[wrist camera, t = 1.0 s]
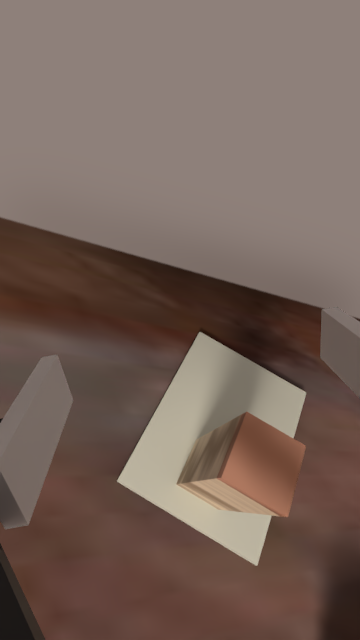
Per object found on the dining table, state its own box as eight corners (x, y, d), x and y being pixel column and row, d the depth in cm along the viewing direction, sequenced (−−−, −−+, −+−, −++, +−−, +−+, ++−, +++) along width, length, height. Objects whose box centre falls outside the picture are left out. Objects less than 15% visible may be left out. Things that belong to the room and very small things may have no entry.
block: (218, 509, 33) (287, 517, 21) (175, 484, 33) (221, 477, 21) (235, 462, 36) (306, 446, 24) (196, 439, 36) (246, 411, 24)
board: (252, 563, 32) (257, 565, 31) (116, 481, 33) (117, 481, 32) (302, 394, 43) (306, 392, 42) (197, 334, 43) (199, 331, 43)
